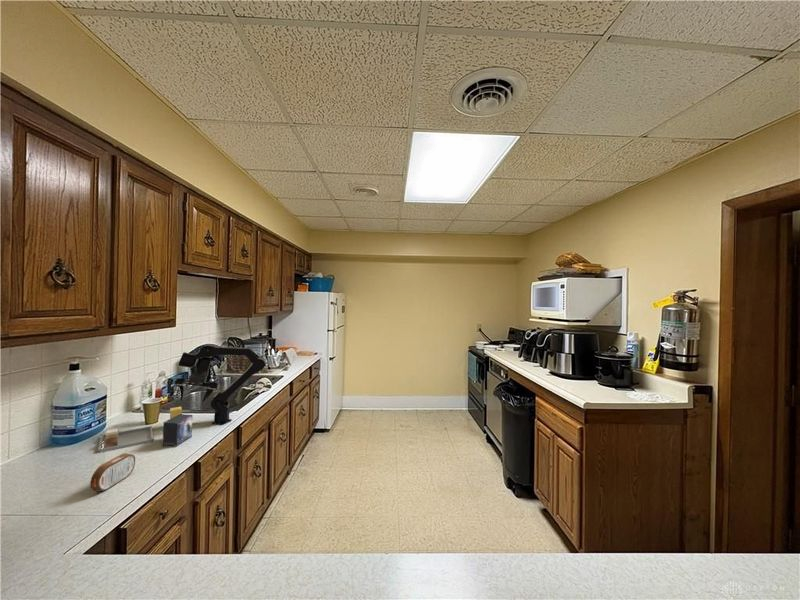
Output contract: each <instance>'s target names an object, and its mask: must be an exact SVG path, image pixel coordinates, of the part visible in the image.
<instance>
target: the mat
mask: <svg viewBox="0 0 800 600" xmlns="http://www.w3.org/2000/svg"><path fill="white" fill-rule="evenodd" d="M194 424H195V425H197V422H192V426H195V425H194ZM155 430H158V431H161V432H163V425H162V426H159V427H157V428H156V427H155Z"/></svg>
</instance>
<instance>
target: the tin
mask: <svg viewBox="0 0 800 600" xmlns="http://www.w3.org/2000/svg"><path fill="white" fill-rule="evenodd" d="M135 465H136V456H135V455H134V454H132V453H127V452H126V453H125V452H123V453H121V454H119V455H118V456H115V457H113V458H112V459H110V460H108V461H106V462H103V463H102V464H101V465H99V466H98V467H97V468H96V469H95V471H94V472H93V474H92V476H91V478H90V481H89V482H90V483H89V485H90V486H89V487H90V489H91V490H92V491H99V492H104V491H107V490H109V489H110V488H112V487H114V486H115V485H117V484H119V483H120V482H122V481H123V479H124V480H125V479H127V478H128V477H129V476H130V475H131V474H132V472H133V471H134V469H135ZM126 477H127V478H126Z"/></svg>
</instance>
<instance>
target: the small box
mask: <svg viewBox="0 0 800 600" xmlns="http://www.w3.org/2000/svg"><path fill="white" fill-rule="evenodd" d="M193 416H194V415H193V414H186V413H185V414H184V413H182V414H179V415H177V416H175V417H173V418H171V419H170V418H169V419H167V420H165V421H163V425H162V426H163V431H162V432H163V433H162V448H163V447H169V448H177V447H179V446H180V445H181V444H183V443H185V442H187V441H188V440H189V439H192V437H193V425H192V423H193Z"/></svg>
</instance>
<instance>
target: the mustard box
mask: <svg viewBox="0 0 800 600" xmlns="http://www.w3.org/2000/svg"><path fill="white" fill-rule="evenodd" d="M179 414H183V408H182V406H177V407H170V408H169V419H171V418H173V417H175V416H177V415H179Z"/></svg>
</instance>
